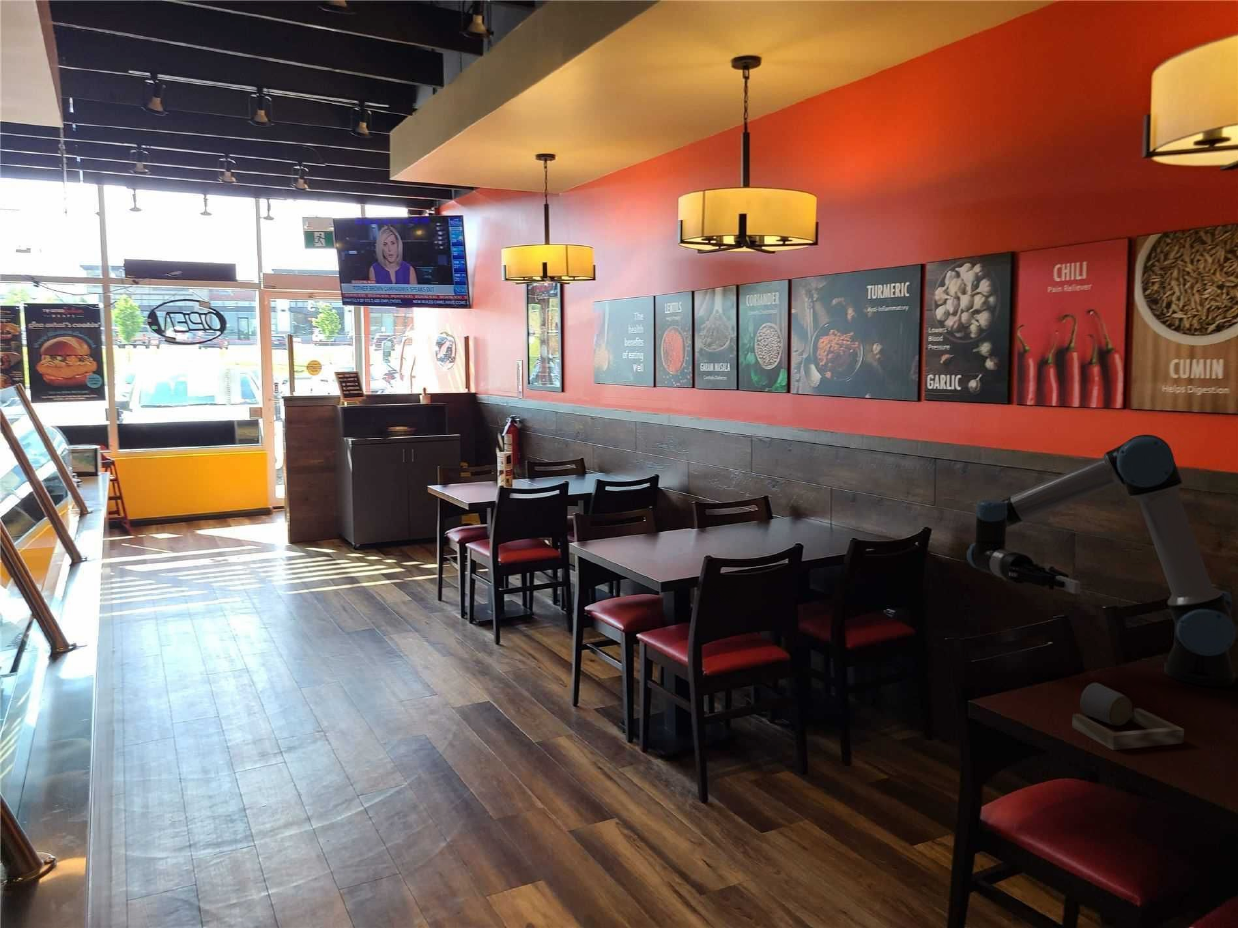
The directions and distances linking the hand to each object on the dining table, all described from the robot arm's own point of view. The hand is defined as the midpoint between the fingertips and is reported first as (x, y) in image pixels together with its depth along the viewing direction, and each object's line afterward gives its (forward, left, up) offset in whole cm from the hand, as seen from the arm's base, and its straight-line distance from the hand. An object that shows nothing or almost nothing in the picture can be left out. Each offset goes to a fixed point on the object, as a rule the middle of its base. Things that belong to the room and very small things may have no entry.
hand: (1077, 587), depth 203 cm
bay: (+1, +18, -28) cm, 33 cm away
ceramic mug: (-1, +10, -28) cm, 30 cm away
